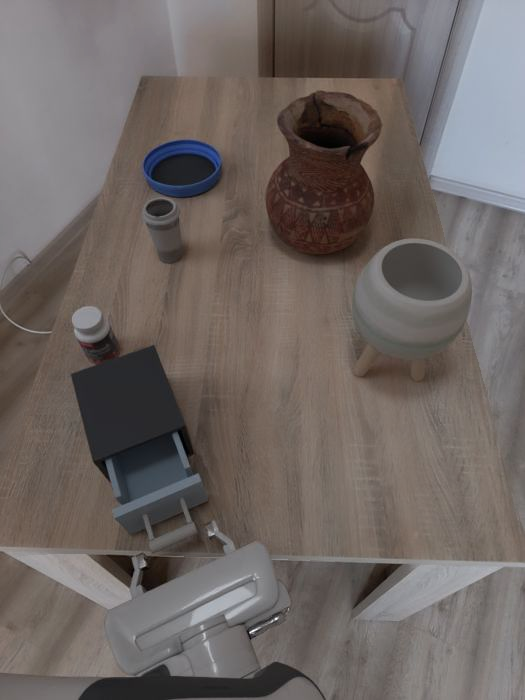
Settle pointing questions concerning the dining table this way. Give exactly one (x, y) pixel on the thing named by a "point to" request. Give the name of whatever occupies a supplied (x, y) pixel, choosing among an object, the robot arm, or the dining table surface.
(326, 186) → the clay vase
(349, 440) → the dining table surface
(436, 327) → the planter
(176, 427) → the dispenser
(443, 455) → the dining table surface
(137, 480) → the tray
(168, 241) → the cup
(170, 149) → the bowl
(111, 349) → the pill bottle
